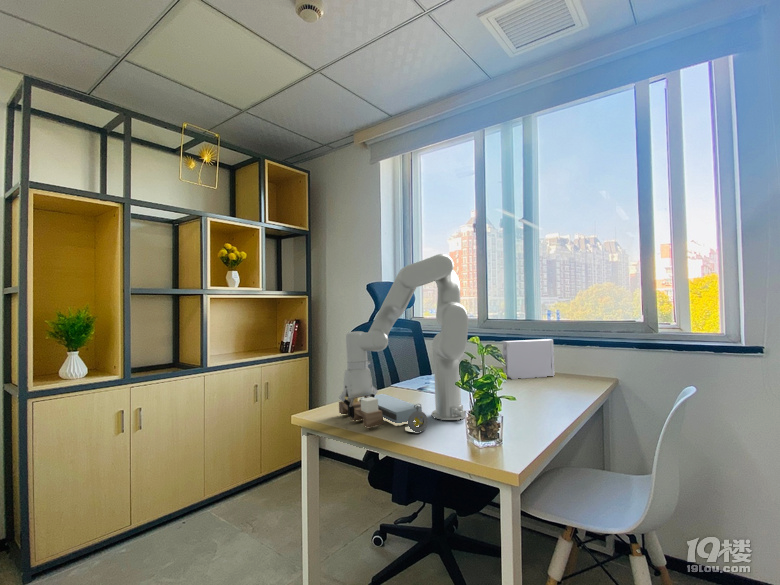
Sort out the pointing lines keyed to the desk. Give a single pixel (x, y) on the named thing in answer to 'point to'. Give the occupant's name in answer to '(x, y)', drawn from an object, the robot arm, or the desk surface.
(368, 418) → the brown blocks
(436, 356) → the robot arm
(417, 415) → the pocket watch
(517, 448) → the desk surface
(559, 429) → the desk surface
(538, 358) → the game console
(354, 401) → the mustard box
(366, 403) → the cream box
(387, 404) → the dock
